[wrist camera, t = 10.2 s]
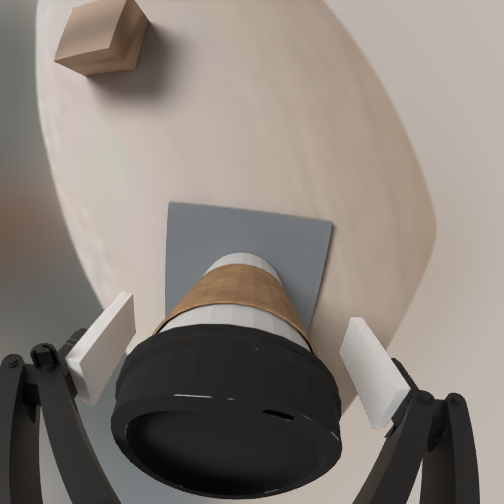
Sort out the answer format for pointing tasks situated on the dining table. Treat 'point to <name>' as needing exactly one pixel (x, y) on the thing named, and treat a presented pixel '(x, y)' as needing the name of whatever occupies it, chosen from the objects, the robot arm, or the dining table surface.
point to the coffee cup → (229, 391)
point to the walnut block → (103, 37)
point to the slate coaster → (245, 249)
